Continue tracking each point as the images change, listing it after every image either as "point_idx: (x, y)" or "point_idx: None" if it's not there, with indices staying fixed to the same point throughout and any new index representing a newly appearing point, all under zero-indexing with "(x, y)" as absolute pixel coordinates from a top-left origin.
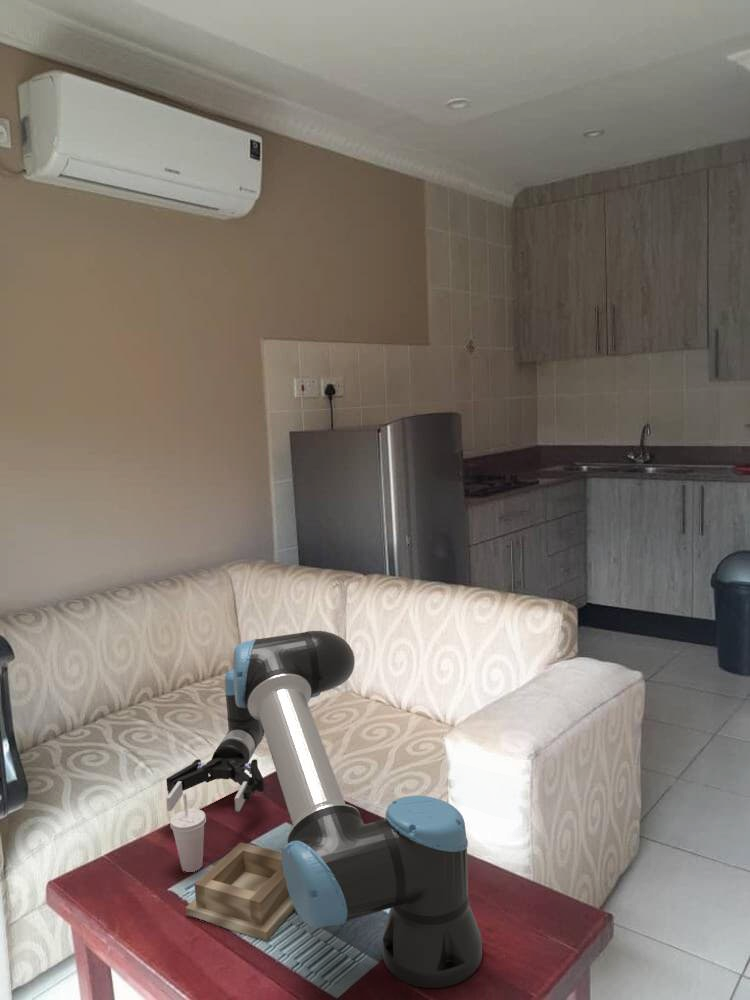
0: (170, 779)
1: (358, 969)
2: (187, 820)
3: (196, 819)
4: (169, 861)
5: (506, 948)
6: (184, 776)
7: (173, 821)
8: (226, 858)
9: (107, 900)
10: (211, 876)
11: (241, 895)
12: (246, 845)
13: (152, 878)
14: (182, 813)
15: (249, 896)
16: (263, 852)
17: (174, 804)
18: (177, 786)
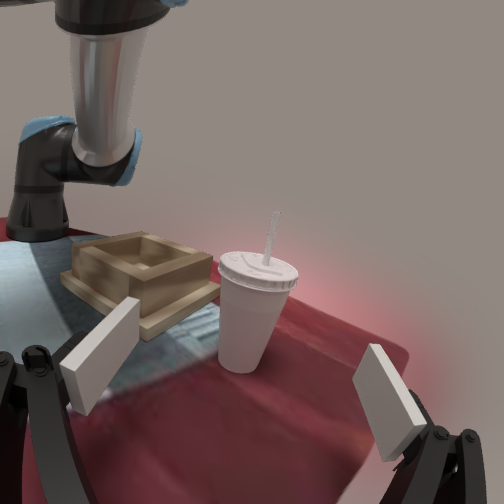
0: (463, 434)
1: (83, 237)
2: (256, 257)
3: (238, 259)
4: (290, 380)
5: (5, 224)
6: (436, 467)
7: (286, 266)
8: (171, 267)
9: (332, 328)
10: (192, 256)
11: (157, 238)
12: (135, 274)
13: (297, 350)
14: (278, 270)
15: (150, 235)
16: (113, 260)
17: (362, 395)
18: (400, 395)
